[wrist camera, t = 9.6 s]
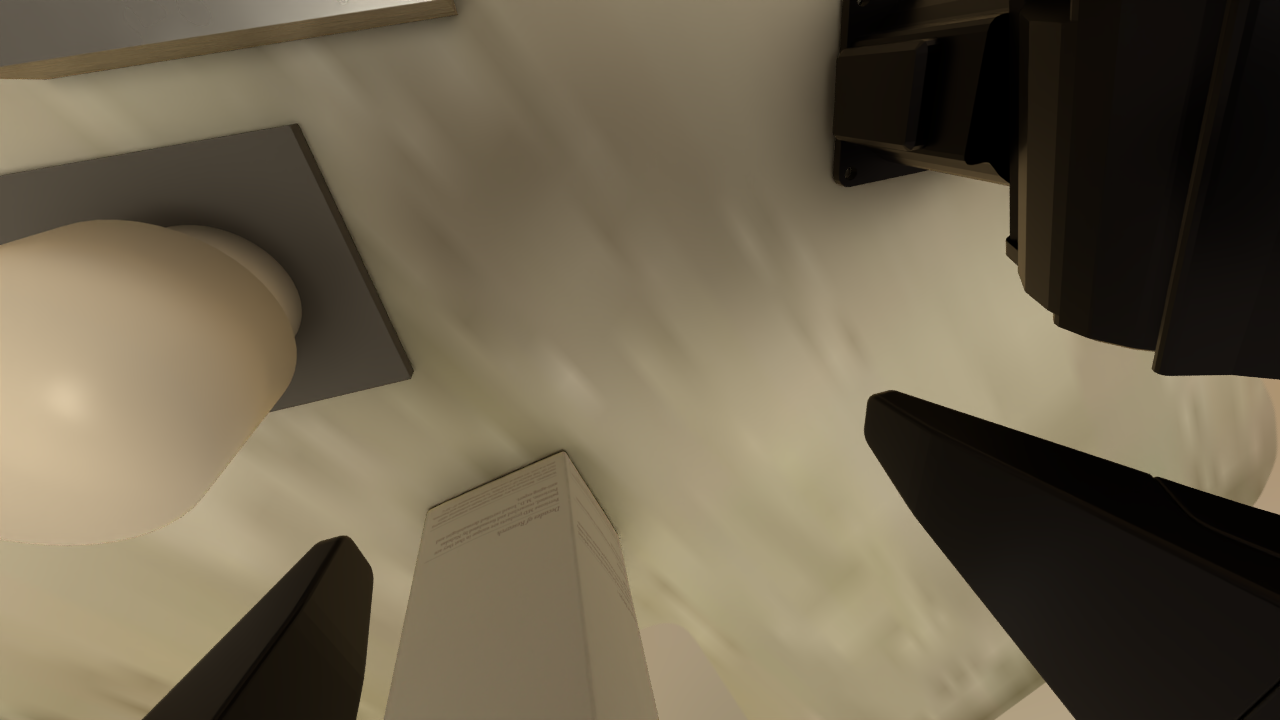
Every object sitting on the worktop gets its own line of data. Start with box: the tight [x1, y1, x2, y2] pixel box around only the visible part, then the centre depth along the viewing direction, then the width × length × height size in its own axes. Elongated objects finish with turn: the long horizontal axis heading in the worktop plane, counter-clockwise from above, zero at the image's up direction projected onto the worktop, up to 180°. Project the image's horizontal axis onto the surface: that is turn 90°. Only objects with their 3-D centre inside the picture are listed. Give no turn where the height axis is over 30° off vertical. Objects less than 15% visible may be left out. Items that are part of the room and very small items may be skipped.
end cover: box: [0, 220, 302, 546], centre depth 13 cm, size 6×6×7 cm
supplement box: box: [384, 452, 659, 720], centre depth 19 cm, size 7×7×13 cm
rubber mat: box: [0, 124, 414, 412], centre depth 16 cm, size 9×9×1 cm
